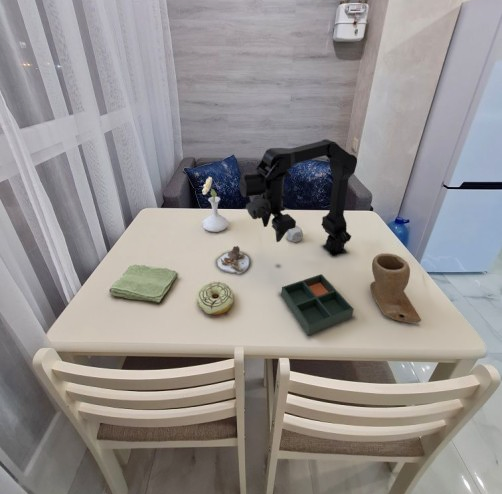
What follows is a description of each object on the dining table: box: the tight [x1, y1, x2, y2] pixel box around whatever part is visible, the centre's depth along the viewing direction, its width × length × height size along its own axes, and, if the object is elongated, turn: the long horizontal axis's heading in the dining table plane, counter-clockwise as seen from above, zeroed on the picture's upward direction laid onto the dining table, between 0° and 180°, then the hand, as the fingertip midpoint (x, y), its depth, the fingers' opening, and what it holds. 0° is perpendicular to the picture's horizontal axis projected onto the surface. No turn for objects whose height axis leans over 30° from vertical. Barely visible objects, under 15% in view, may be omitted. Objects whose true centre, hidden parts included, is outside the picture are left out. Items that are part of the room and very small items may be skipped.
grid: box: [280, 273, 355, 337], centre depth 78 cm, size 15×15×3 cm
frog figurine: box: [216, 245, 250, 275], centre depth 95 cm, size 12×12×4 cm
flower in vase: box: [201, 176, 229, 233], centre depth 110 cm, size 13×11×25 cm
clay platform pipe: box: [370, 252, 422, 324], centre depth 76 cm, size 15×12×15 cm
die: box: [286, 225, 304, 243], centre depth 108 cm, size 5×5×5 cm
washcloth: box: [108, 264, 179, 303], centre depth 84 cm, size 13×18×3 cm
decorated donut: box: [196, 281, 234, 315], centre depth 78 cm, size 10×11×4 cm
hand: (271, 233), depth 86 cm, fingers open, 9 cm apart
